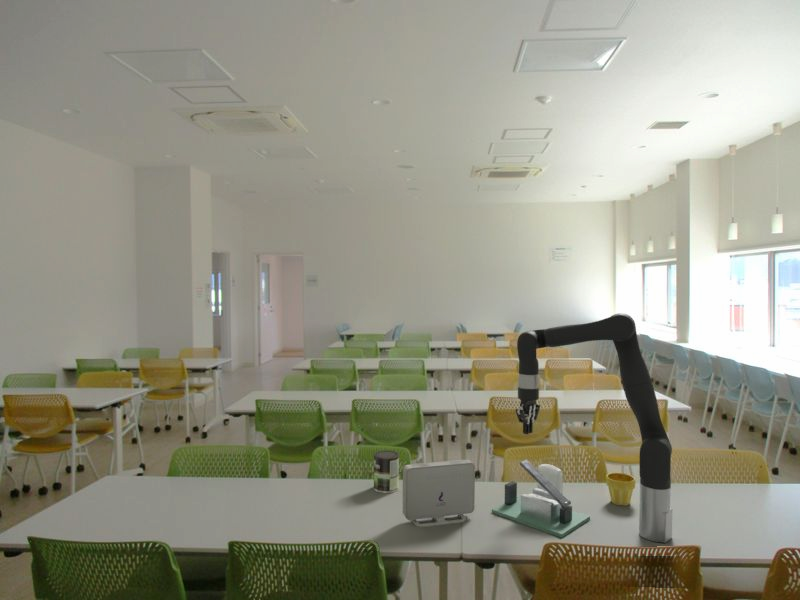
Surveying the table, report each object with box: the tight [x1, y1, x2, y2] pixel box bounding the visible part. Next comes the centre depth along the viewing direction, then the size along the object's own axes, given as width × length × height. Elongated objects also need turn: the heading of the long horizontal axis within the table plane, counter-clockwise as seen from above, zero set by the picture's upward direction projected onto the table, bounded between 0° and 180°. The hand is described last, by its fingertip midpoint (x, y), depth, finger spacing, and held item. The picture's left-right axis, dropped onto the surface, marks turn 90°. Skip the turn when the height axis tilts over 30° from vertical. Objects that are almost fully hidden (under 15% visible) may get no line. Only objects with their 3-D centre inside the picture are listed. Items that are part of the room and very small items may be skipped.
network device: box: [402, 459, 476, 528], centre depth 197 cm, size 26×9×20 cm, turn 105°
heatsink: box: [504, 480, 573, 524], centre depth 201 cm, size 24×10×7 cm, turn 45°
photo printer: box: [537, 463, 564, 496], centre depth 218 cm, size 10×4×12 cm, turn 39°
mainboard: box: [491, 494, 591, 538], centre depth 200 cm, size 28×20×1 cm
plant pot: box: [605, 472, 636, 506], centre depth 213 cm, size 10×10×10 cm
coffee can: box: [373, 450, 400, 494], centre depth 226 cm, size 10×10×14 cm
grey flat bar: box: [519, 459, 572, 508], centre depth 199 cm, size 21×4×1 cm
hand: (527, 433), depth 203 cm, fingers closed
